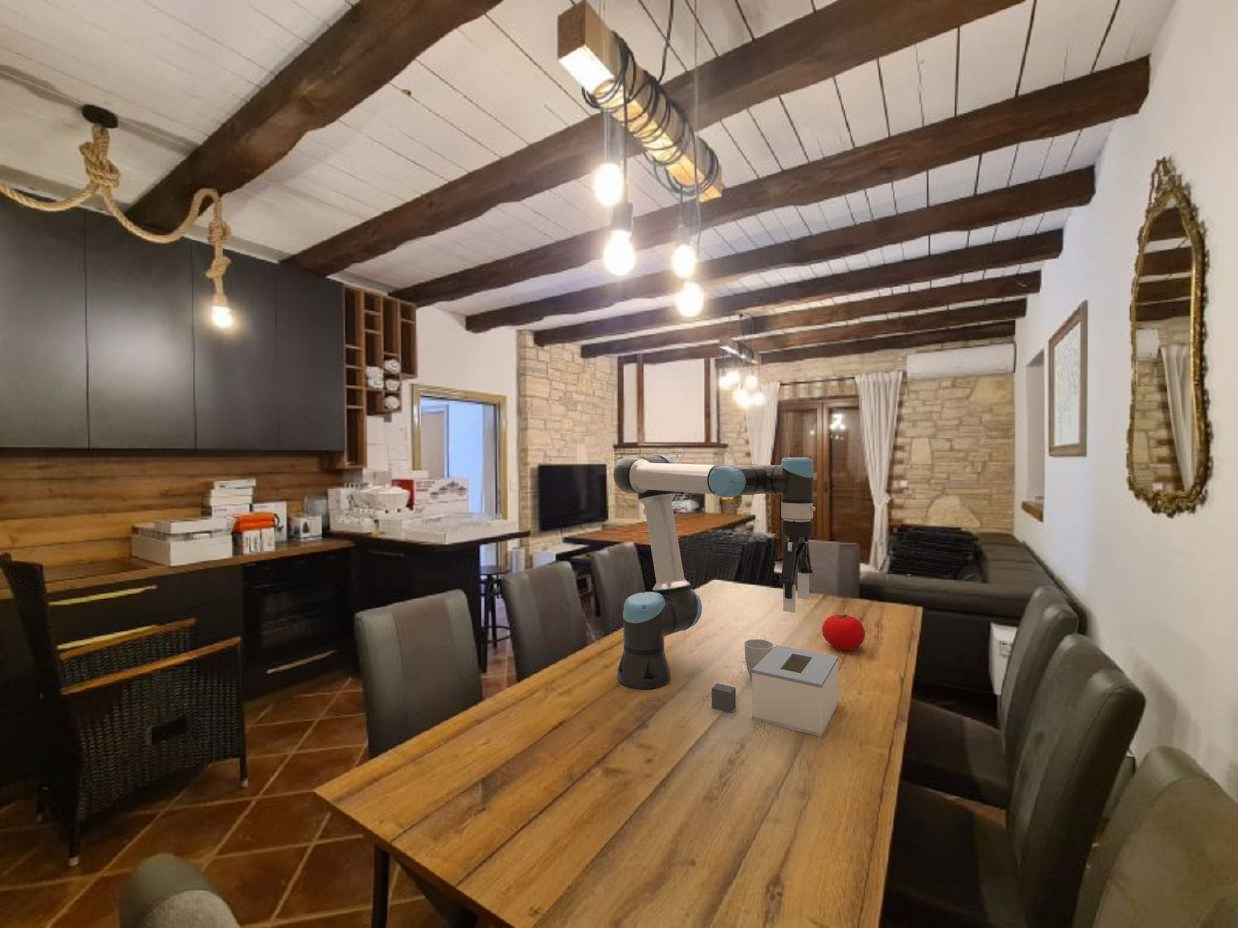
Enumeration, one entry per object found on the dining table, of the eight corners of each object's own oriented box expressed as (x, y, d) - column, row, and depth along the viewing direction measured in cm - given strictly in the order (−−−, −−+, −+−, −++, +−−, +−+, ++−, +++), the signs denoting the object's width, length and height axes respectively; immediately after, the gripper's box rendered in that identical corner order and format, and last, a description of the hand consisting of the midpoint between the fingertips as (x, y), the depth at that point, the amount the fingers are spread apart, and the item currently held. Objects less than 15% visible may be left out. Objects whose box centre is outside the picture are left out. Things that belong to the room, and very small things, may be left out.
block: (711, 707, 137) (711, 688, 137) (716, 702, 140) (717, 683, 140) (730, 712, 134) (730, 692, 134) (735, 707, 137) (735, 687, 137)
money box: (752, 718, 131) (752, 669, 131) (775, 688, 148) (776, 644, 148) (821, 737, 122) (821, 684, 122) (838, 702, 139) (838, 656, 139)
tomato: (873, 651, 176) (873, 617, 176) (841, 656, 171) (841, 622, 171) (845, 639, 187) (845, 608, 187) (815, 644, 182) (815, 612, 182)
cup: (774, 685, 150) (774, 649, 150) (744, 683, 151) (744, 647, 151) (772, 674, 158) (772, 640, 157) (743, 671, 159) (743, 638, 159)
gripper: (800, 526, 122) (799, 620, 122) (823, 515, 143) (823, 595, 143) (767, 524, 126) (766, 614, 126) (794, 513, 147) (794, 591, 147)
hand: (796, 604), depth 135 cm, fingers open, 13 cm apart
